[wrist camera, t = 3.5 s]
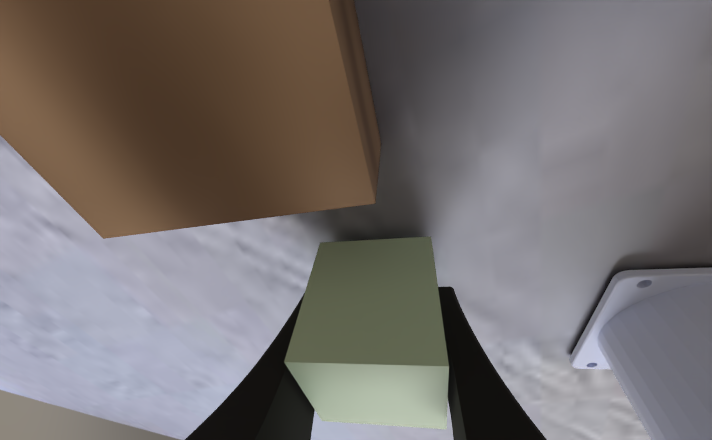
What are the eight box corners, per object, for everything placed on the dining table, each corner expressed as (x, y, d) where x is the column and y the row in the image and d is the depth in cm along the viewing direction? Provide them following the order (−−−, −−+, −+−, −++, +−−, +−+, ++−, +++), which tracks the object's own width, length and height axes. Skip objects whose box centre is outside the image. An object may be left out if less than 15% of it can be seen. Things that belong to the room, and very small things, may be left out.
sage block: (430, 236, 11) (448, 366, 7) (432, 306, 14) (446, 429, 10) (320, 242, 12) (284, 362, 8) (341, 307, 15) (321, 420, 11)
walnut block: (294, -326, 5) (149, -774, 2) (381, 140, 11) (375, 203, 7) (-36, -134, 7) (-360, -227, 4) (176, 176, 13) (103, 238, 9)
